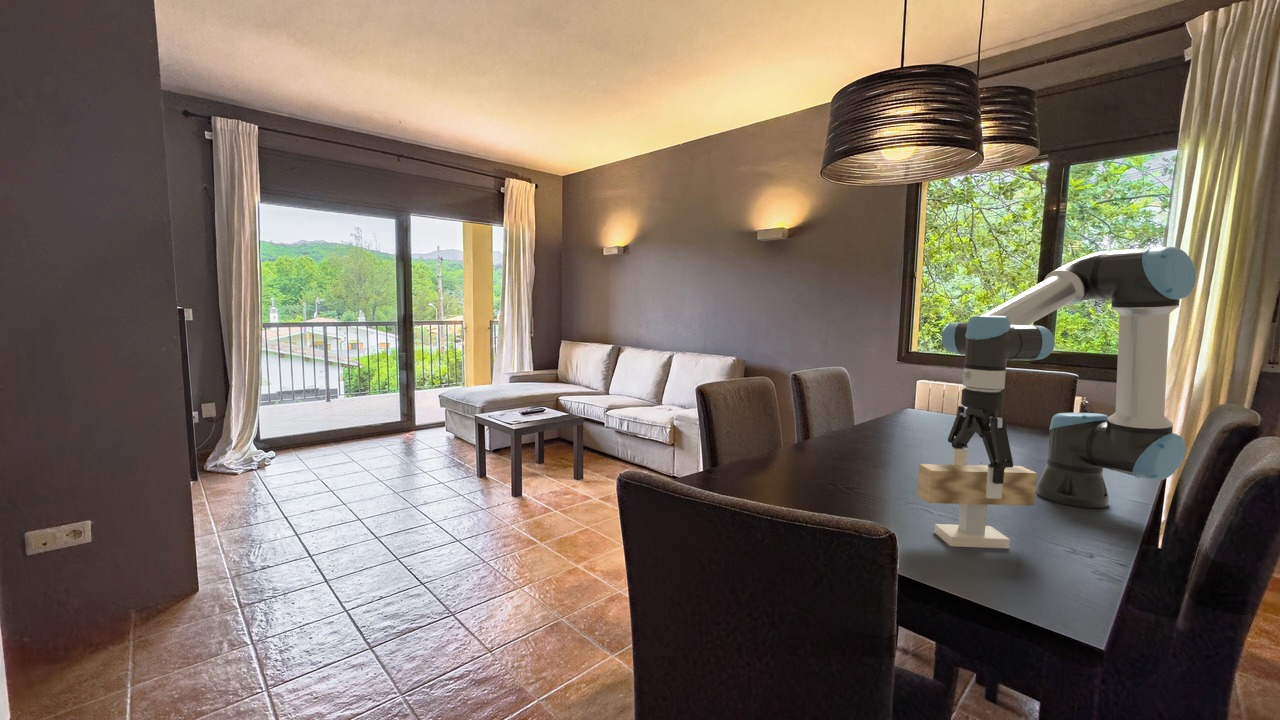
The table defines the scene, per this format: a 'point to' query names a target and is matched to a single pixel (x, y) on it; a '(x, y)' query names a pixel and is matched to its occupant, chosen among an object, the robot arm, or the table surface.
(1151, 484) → the table surface
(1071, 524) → the table surface
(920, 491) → the batten
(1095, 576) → the table surface
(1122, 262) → the robot arm
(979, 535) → the stand
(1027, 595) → the table surface
